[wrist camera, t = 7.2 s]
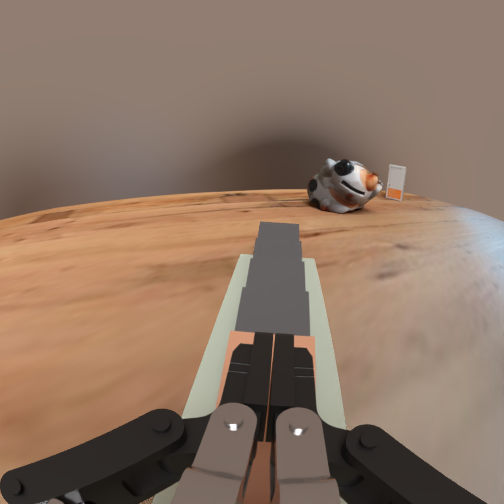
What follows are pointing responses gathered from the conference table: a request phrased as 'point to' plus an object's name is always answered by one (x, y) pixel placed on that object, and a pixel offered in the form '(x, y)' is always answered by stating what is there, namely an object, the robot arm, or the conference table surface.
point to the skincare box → (396, 182)
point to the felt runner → (214, 356)
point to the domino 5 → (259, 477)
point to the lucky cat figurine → (343, 186)
